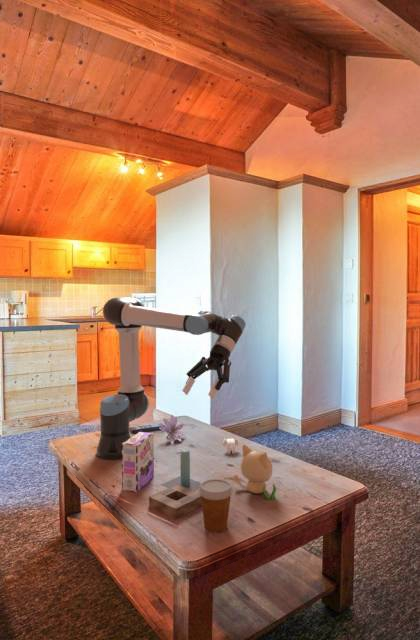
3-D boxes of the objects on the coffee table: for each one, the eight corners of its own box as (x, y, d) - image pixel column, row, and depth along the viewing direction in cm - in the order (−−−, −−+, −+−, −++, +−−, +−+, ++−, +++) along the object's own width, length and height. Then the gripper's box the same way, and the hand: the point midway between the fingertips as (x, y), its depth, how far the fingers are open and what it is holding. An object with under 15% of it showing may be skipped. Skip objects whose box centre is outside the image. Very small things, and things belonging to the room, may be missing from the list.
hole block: (149, 507, 136) (148, 496, 136) (176, 494, 145) (176, 484, 145) (176, 520, 129) (176, 508, 128) (203, 505, 138) (203, 494, 137)
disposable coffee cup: (198, 519, 129) (197, 479, 129) (230, 517, 130) (230, 477, 129) (200, 536, 120) (199, 493, 119) (234, 535, 121) (234, 492, 120)
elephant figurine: (238, 448, 188) (238, 435, 188) (239, 455, 180) (239, 441, 180) (222, 449, 188) (222, 435, 188) (223, 456, 180) (223, 441, 180)
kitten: (284, 494, 145) (285, 450, 144) (264, 504, 138) (264, 457, 137) (251, 480, 156) (251, 439, 155) (231, 489, 149) (231, 445, 149)
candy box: (137, 493, 146) (136, 444, 145) (121, 491, 148) (120, 443, 147) (154, 477, 160) (154, 432, 159) (139, 475, 161) (139, 430, 160)
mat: (160, 485, 152) (160, 484, 152) (181, 476, 160) (181, 475, 160) (185, 496, 144) (185, 494, 144) (206, 486, 152) (206, 484, 152)
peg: (178, 485, 151) (178, 451, 150) (185, 482, 154) (185, 448, 153) (185, 488, 149) (185, 453, 148) (192, 485, 151) (191, 451, 151)
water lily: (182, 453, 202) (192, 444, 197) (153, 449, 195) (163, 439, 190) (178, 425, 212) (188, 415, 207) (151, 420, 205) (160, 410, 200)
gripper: (252, 357, 167) (227, 404, 156) (204, 353, 184) (180, 396, 173) (242, 344, 163) (217, 392, 152) (194, 342, 180) (169, 385, 169)
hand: (197, 394), depth 163 cm, fingers open, 13 cm apart
